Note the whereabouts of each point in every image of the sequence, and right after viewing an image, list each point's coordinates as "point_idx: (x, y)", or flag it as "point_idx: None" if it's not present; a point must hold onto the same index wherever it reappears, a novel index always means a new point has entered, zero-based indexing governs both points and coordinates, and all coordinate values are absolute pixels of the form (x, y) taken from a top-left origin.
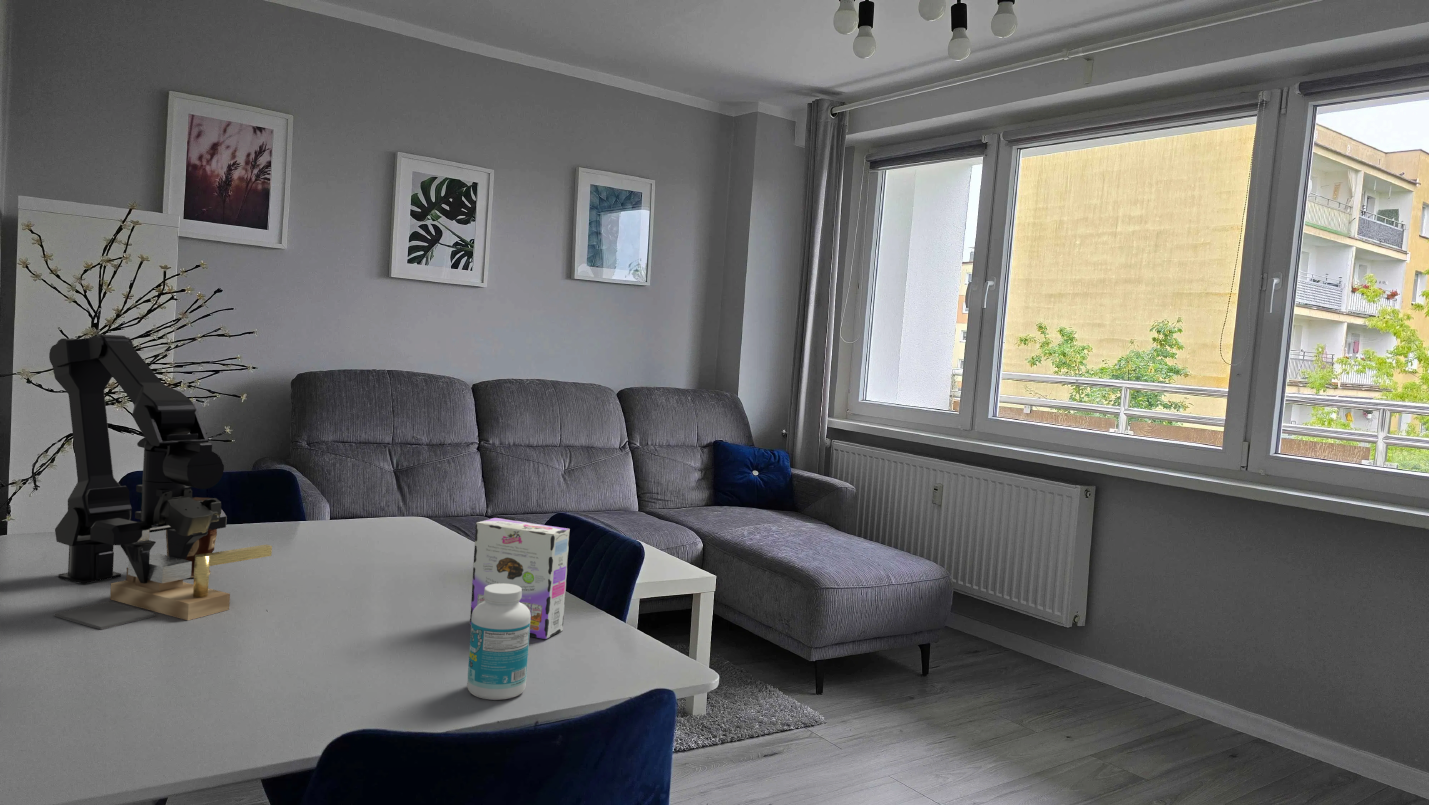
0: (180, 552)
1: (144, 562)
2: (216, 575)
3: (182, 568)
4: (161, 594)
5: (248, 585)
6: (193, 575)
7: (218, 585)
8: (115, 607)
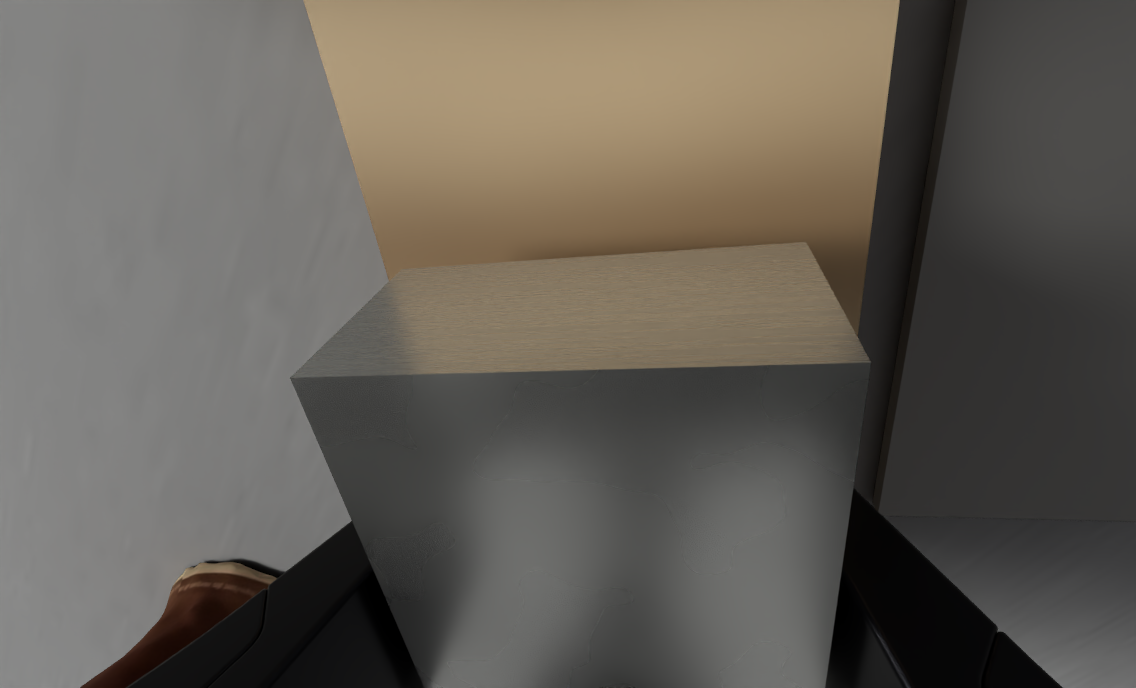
0: (320, 668)
1: (979, 654)
2: (160, 545)
3: (479, 328)
4: (821, 159)
5: (23, 294)
6: (263, 584)
7: (190, 407)
8: (979, 387)
